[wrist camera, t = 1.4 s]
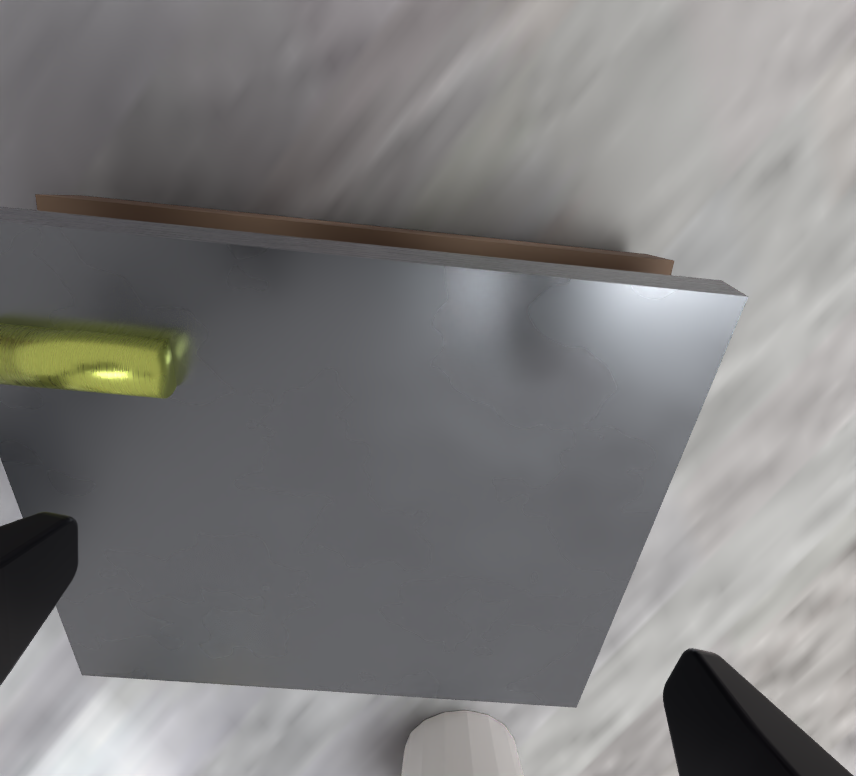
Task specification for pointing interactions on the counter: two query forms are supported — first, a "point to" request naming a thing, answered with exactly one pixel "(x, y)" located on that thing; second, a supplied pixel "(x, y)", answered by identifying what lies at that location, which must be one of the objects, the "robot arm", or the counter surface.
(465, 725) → the white cup
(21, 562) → the robot arm
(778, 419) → the counter surface
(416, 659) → the levelling plate
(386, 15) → the counter surface
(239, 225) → the brown wooden board
